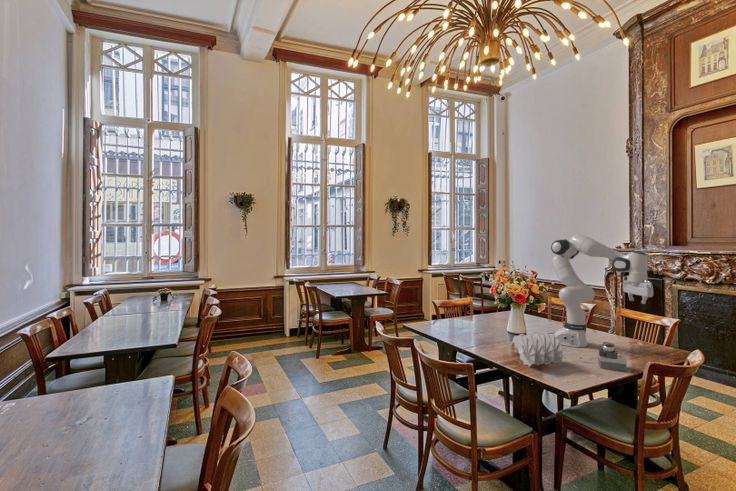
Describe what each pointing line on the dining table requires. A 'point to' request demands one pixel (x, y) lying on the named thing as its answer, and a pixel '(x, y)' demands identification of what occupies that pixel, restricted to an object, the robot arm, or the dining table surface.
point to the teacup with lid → (516, 346)
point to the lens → (608, 347)
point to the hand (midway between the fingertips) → (637, 302)
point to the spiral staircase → (539, 348)
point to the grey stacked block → (611, 361)
